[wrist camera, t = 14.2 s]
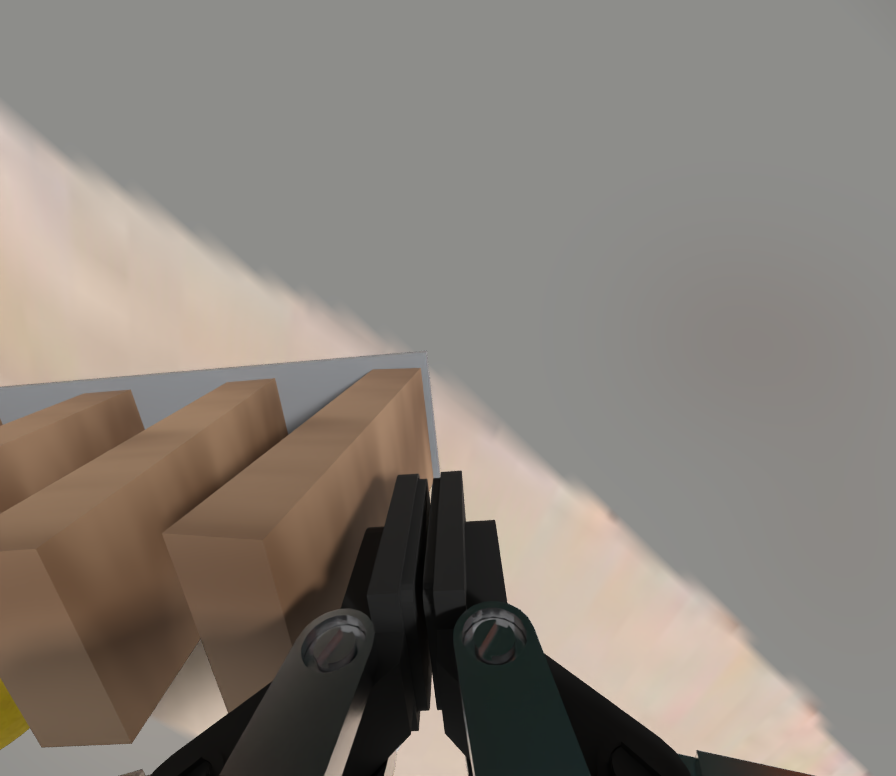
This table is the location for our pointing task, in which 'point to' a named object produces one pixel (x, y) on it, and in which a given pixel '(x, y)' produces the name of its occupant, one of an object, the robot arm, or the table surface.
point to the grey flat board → (167, 393)
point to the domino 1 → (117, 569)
